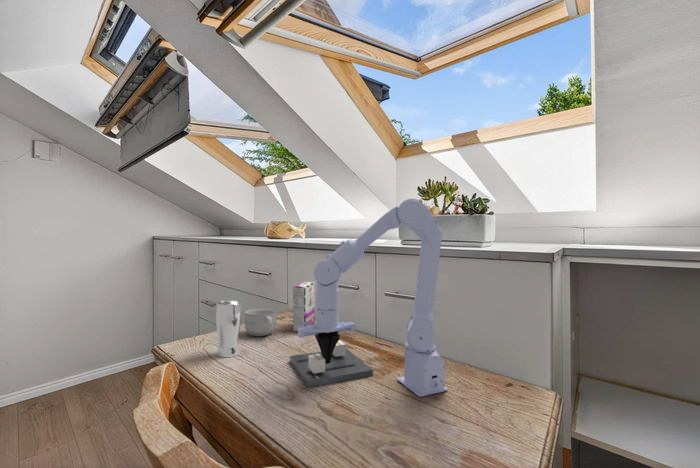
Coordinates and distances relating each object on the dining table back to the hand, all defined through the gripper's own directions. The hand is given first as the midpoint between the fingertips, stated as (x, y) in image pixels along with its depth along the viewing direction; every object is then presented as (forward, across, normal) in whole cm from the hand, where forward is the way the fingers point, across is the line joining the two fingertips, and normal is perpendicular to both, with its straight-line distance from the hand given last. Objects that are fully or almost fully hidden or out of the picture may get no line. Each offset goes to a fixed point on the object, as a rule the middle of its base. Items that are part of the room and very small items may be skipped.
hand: (326, 362), depth 84 cm
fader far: (+1, -6, -8) cm, 10 cm away
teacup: (+4, +9, -39) cm, 40 cm away
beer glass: (+4, +21, -25) cm, 33 cm away
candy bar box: (+4, -7, -42) cm, 43 cm away
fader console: (+3, -2, -4) cm, 6 cm away
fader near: (+1, +3, 0) cm, 3 cm away
